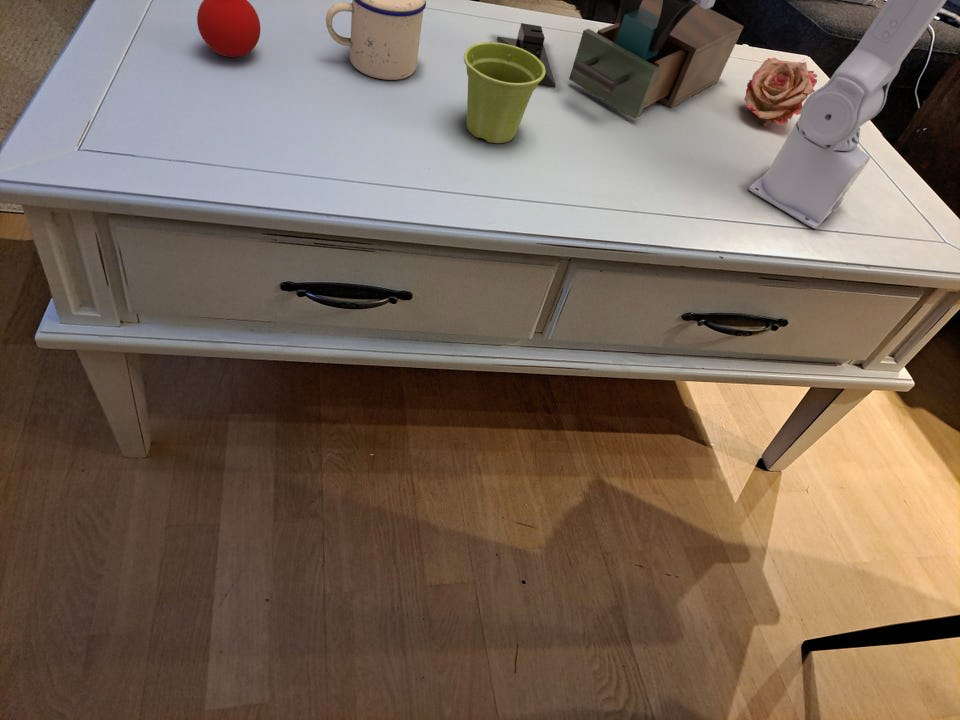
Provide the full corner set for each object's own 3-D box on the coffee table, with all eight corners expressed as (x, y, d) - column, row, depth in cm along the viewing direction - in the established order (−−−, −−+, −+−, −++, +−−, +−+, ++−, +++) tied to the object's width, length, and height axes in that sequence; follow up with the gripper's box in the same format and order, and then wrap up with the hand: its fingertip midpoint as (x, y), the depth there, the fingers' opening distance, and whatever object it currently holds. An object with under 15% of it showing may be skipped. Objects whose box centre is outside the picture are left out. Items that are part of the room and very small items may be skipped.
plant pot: (472, 156, 80) (486, 86, 73) (440, 111, 85) (451, 42, 78) (540, 148, 84) (560, 81, 77) (506, 106, 89) (522, 40, 82)
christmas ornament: (210, 70, 81) (200, -19, 74) (193, 41, 85) (182, -47, 77) (269, 66, 84) (266, -20, 77) (251, 37, 88) (246, -47, 80)
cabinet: (670, 108, 97) (696, 48, 91) (600, 67, 101) (619, 7, 95) (717, 82, 105) (744, 26, 99) (650, 45, 110) (671, -11, 103)
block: (657, 55, 93) (670, 22, 89) (640, 62, 90) (652, 29, 87) (630, 40, 94) (642, 7, 91) (613, 47, 91) (624, 14, 88)
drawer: (616, 129, 88) (635, 79, 83) (548, 88, 92) (562, 37, 87) (684, 92, 99) (704, 46, 94) (620, 56, 103) (637, 10, 98)
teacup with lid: (409, 48, 94) (419, -44, 85) (425, 83, 89) (437, -11, 80) (320, 44, 90) (321, -53, 81) (330, 80, 85) (333, -19, 76)
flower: (758, 81, 104) (762, 43, 97) (820, 95, 101) (829, 58, 93) (731, 134, 103) (732, 100, 96) (792, 150, 100) (799, 117, 92)
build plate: (555, 89, 95) (564, 56, 91) (503, 82, 93) (511, 48, 90) (542, 45, 102) (550, 13, 99) (494, 38, 101) (501, 5, 97)
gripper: (613, -94, 81) (579, 23, 91) (717, -44, 76) (669, 73, 86) (643, -99, 85) (608, 12, 95) (745, -53, 80) (695, 60, 90)
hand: (639, 41), depth 91 cm, fingers closed on block, 4 cm apart
